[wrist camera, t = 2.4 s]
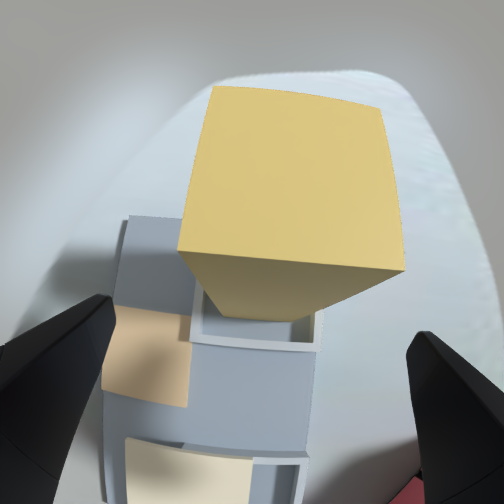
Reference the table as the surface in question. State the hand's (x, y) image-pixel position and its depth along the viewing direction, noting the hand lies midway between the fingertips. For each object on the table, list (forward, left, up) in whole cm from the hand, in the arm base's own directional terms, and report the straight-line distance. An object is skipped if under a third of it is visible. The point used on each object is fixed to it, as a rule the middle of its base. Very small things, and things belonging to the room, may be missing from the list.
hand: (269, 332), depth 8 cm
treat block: (+3, 0, -10) cm, 10 cm away
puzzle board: (-4, +3, -10) cm, 12 cm away
